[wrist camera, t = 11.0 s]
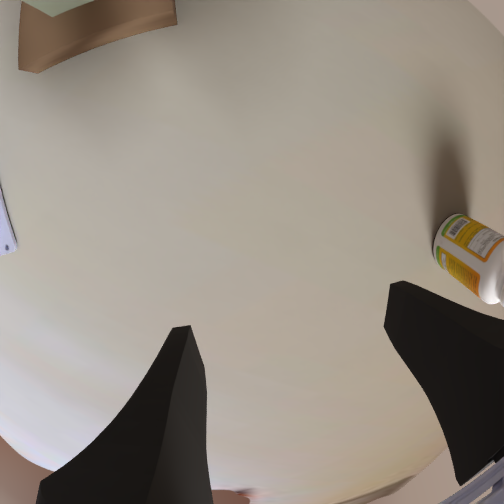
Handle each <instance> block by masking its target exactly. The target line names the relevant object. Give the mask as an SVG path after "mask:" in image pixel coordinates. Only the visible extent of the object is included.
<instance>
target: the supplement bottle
mask: <svg viewBox="0 0 504 504" xmlns="http://www.w3.org/2000/svg"><path fill="white" fill-rule="evenodd" d="M433 253H434V258H435V261H436V263H437V264H438V265H439V266H440V267H441V268H443V269H444V270H445V271H446V272H448V273H449V274H451V275H452V276H453V277H454V278H456V279H457V280H458V281H459V282H461V283H462V284H463V285H464V286H466V287H467V288H468V289H469V290H471V291H472V292H473V293H474V294H475V295H477V296H478V297H479V298H480V299H481V300H483V301H484V302H486V303H488V304H496V303H498V302H500V303H501V305H502V306H503V307H504V236H503V235H501V234H500V233H498V232H496V231H494V230H492V229H490V228H489V227H487V226H485V225H483V224H481V223H479V222H477V221H475V220H473V219H471V218H469V217H467V216H465V215H463V214H454V215H452V216H450V217H449V218H447V219H446V220H445V221H444V222H443V223H442V225H441V226H440V228H439V230H438V232H437V234H436V237H435V241H434V247H433Z"/></svg>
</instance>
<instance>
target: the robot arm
mask: <svg viewBox="0 0 504 504" xmlns="http://www.w3.org/2000/svg"><path fill="white" fill-rule="evenodd" d="M7 245H8V246H9V248H8V247H7ZM16 249H17V243H16V240H15V237H14V234H13V231H12V228H11V224H10V221H9V218H8V214H7V211H6V207H5V204H4V200H3V196H2V192H1V188H0V256H1V255H4V254H8V253H11V252H14V251H15V250H16ZM384 328H385V330H386V333H387V335H388V337H389V339H390V340H391V342H392V344H393V346H394V348H395V349H396V351H397V352H398V354H399V355H400V357H401V358H402V359H403V361H404V362H405V364H406V365H407V367H408V368H409V369H410V371H411V372H412V374H413V375H414V377H415V378H416V380H417V381H418V382H419V384H420V385H421V387H422V388H423V390H424V392H425V393H426V395H427V397H428V399H429V401H430V403H431V405H432V407H433V409H434V411H435V413H436V416H437V418H438V420H439V423H440V425H441V428H442V430H443V433H444V435H445V438H446V441H447V444H448V447H449V450H450V454H451V458H452V462H453V466H454V471H455V477H456V480H457V481H458V483H459V485H460V486H462V485H463V484H465V483H466V482H468V481H469V480H470V479H472V478H473V477H475V476H476V475H477V474H479V473H480V472H481V471H483V470H484V469H485V468H486V467H488V466H489V465H490V464H492V463H493V462H495V463H496V464H495V465H493V466H492V467H491V468H490V469H488V470H487V471H486V472H484V473H483V474H482V475H480V476H479V477H478V478H476V479H475V480H474V481H472V482H471V483H470V484H468V485H467V486H465V487H464V488H462V489H461V490H459V491H458V492H457V493H455V494H453V495H452V496H450V497H449V498H447V499H445V500H444V501H442V502H440V503H439V504H469V503H470V502H472V501H473V500H475V499H476V498H477V497H479V496H480V495H481V494H482V493H484V492H485V491H486V490H488V489H489V488H490V487H491V486H493V487H492V492H491V493H490V494H488V495H487V496H485V497H484V498H482V499H481V500H480V501H478V502H477V503H475V504H504V320H501V319H498V318H495V317H492V316H488V315H485V314H482V313H480V312H477V311H474V310H472V309H469V308H467V307H464V306H462V305H460V304H457V303H455V302H453V301H450V300H448V299H446V298H444V297H441V296H439V295H437V294H435V293H433V292H430V291H428V290H426V289H424V288H422V287H419V286H417V285H414V284H412V283H409V282H406V281H399V282H396V283H392V284H390V290H389V297H388V304H387V310H386V316H385V322H384ZM206 416H207V388H206V378H205V368H204V364H203V361H202V359H201V356H200V353H199V350H198V347H197V344H196V341H195V338H194V335H193V331H192V328H191V325H188V326H182V327H175V328H172V330H171V331H170V333H169V335H168V337H167V339H166V341H165V342H164V344H163V346H162V348H161V350H160V351H159V353H158V355H157V357H156V359H155V360H154V362H153V364H152V365H151V367H150V369H149V370H148V372H147V374H146V375H145V377H144V378H143V380H142V381H141V383H140V384H139V386H138V387H137V389H136V390H135V392H134V393H133V395H132V396H131V398H130V399H129V400H128V402H127V403H126V405H125V406H124V407H123V408H122V410H121V411H120V412H119V413H118V415H117V416H116V417H115V418H114V419H113V421H112V422H111V423H110V424H109V425H108V426H107V427H106V428H105V429H104V430H103V431H102V432H101V433H100V434H99V435H98V437H97V438H96V439H95V440H94V441H93V442H92V443H90V444H89V445H88V446H87V447H86V448H85V449H84V450H83V451H82V452H80V453H79V454H78V455H77V456H76V457H74V458H73V459H72V460H71V461H69V462H68V463H67V464H65V465H64V466H63V467H61V468H60V469H58V470H57V471H55V472H54V473H52V474H51V475H49V476H48V477H46V478H45V479H43V480H42V481H41V482H40V485H39V490H38V495H37V500H36V504H213V498H212V492H211V486H210V479H209V472H208V464H207V453H206Z"/></svg>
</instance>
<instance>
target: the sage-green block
mask: <svg viewBox="0 0 504 504" xmlns="http://www.w3.org/2000/svg"><path fill="white" fill-rule="evenodd" d="M21 1H23V2H25V3H27V4H29V5H31V6H33V7H35V8H36V9H38V10H40V11H42V12H44V13H46V14H47V15H49V16H51V17H54V16H56V15H59V14H61V13H63V12H65V11H68V10H70V9H73V8H75V7H78V6H80V5H83V4H86V3H88V2H91V1H94V0H21Z"/></svg>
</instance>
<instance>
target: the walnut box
mask: <svg viewBox="0 0 504 504" xmlns="http://www.w3.org/2000/svg"><path fill="white" fill-rule="evenodd" d="M173 25H177V17H176V8H175V0H94V1H91V2H88V3H86V4H83V5H80V6H78V7H75V8H73V9H70V10H68V11H65V12H63V13H61V14H59V15H56V16H54V17H51V16H49V15H47V14H46V13H44V12H42V11H40V10H38V9H36V8H35V7H33V6H31V5H29V4H27V3H25V2H23V1H22V4H21V13H20V25H19V48H18V65H19V70H23V71H28V72H33V73H40V72H42V71H44V70H46V69H48V68H50V67H52V66H54V65H56V64H58V63H60V62H62V61H65V60H67V59H69V58H71V57H74V56H76V55H78V54H81V53H83V52H86V51H88V50H91V49H94V48H96V47H99V46H102V45H105V44H107V43H110V42H113V41H116V40H119V39H123V38H126V37H129V36H133V35H136V34H140V33H143V32H147V31H151V30H155V29H159V28H164V27H168V26H173Z"/></svg>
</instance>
